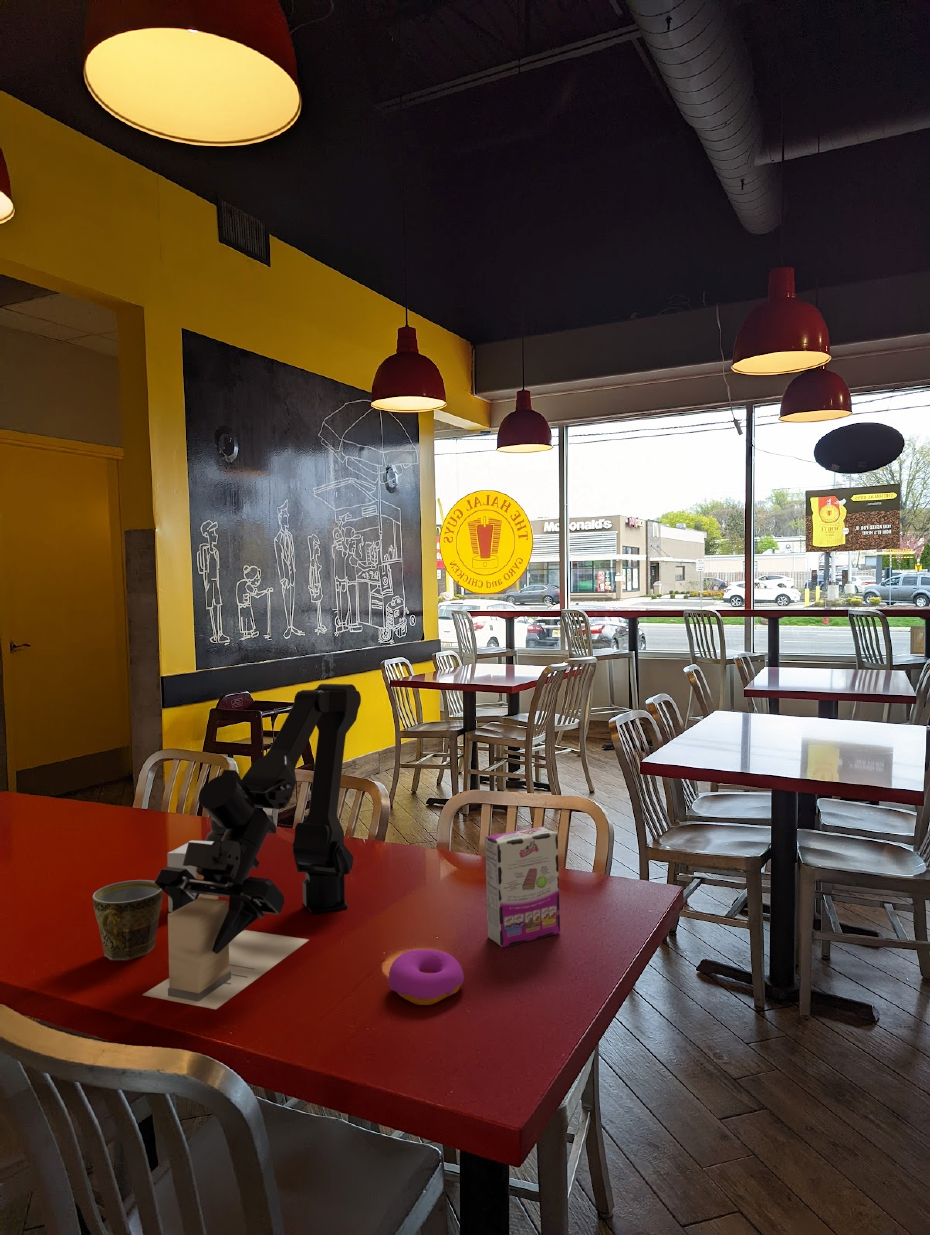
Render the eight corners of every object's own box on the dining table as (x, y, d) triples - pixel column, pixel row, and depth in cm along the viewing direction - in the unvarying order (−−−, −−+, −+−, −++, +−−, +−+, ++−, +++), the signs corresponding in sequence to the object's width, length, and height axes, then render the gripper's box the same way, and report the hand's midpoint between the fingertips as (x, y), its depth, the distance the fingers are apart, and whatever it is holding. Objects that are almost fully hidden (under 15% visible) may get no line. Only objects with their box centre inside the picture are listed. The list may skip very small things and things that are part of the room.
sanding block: (201, 973, 116) (200, 896, 116) (231, 978, 114) (229, 900, 114) (167, 995, 109) (166, 914, 109) (198, 1001, 108) (196, 919, 107)
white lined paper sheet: (244, 935, 131) (244, 930, 131) (309, 944, 127) (309, 939, 127) (142, 1000, 110) (142, 994, 110) (216, 1015, 106) (215, 1009, 106)
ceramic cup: (112, 942, 129) (111, 879, 129) (174, 942, 129) (173, 879, 129) (70, 979, 116) (69, 910, 116) (139, 980, 116) (138, 910, 116)
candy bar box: (544, 923, 134) (542, 825, 134) (561, 934, 130) (559, 832, 130) (484, 937, 129) (483, 834, 129) (500, 949, 125) (499, 842, 124)
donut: (422, 1018, 105) (421, 982, 104) (373, 991, 112) (372, 959, 112) (478, 990, 112) (477, 957, 112) (428, 967, 119) (428, 936, 119)
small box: (196, 914, 140) (195, 854, 140) (167, 912, 141) (166, 852, 141) (219, 898, 148) (218, 840, 148) (191, 896, 149) (190, 839, 149)
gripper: (162, 811, 118) (106, 914, 108) (271, 822, 112) (222, 932, 102) (198, 849, 126) (149, 949, 116) (303, 861, 119) (260, 967, 109)
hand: (192, 949), depth 110 cm, fingers open, 7 cm apart
